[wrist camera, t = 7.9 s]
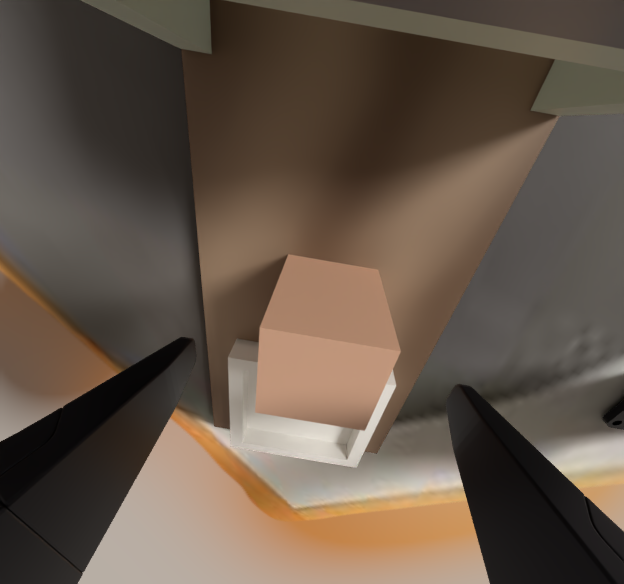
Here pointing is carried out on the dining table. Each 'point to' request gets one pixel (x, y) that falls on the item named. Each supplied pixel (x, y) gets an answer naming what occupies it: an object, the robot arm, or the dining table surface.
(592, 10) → the cover
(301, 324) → the block
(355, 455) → the dish
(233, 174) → the board
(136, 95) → the dining table surface
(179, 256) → the dining table surface
